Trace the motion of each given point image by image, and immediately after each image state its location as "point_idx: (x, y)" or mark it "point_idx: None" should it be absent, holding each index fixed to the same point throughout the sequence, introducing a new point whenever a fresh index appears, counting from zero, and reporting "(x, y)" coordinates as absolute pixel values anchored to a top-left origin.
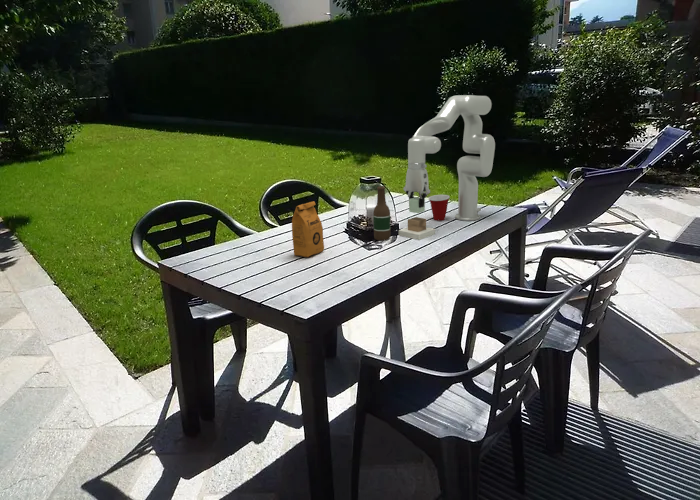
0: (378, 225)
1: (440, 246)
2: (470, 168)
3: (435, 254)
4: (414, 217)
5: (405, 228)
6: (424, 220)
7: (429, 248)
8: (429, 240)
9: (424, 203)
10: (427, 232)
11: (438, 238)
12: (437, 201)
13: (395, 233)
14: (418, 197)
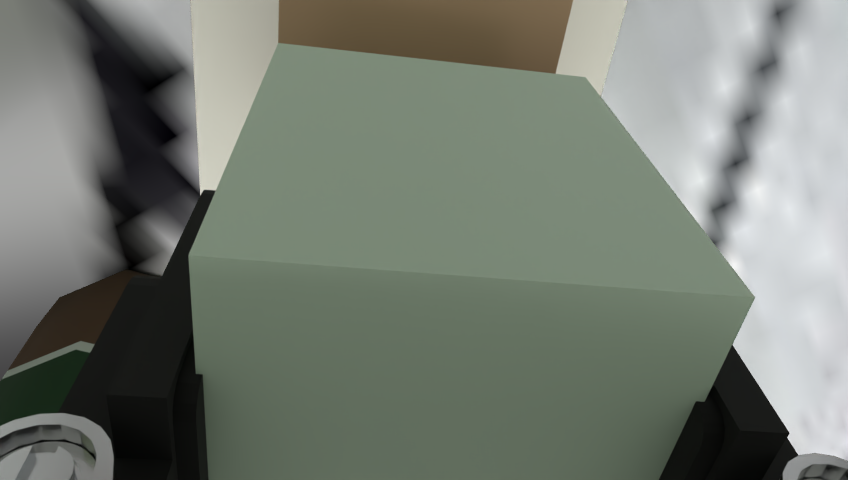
0: None
1: (844, 273)
2: None
3: (842, 444)
4: (280, 18)
5: (208, 80)
6: (554, 51)
7: (751, 362)
8: (666, 158)
9: (660, 195)
10: (605, 66)
11: (752, 25)
12: None
13: (105, 115)
14: (372, 290)
